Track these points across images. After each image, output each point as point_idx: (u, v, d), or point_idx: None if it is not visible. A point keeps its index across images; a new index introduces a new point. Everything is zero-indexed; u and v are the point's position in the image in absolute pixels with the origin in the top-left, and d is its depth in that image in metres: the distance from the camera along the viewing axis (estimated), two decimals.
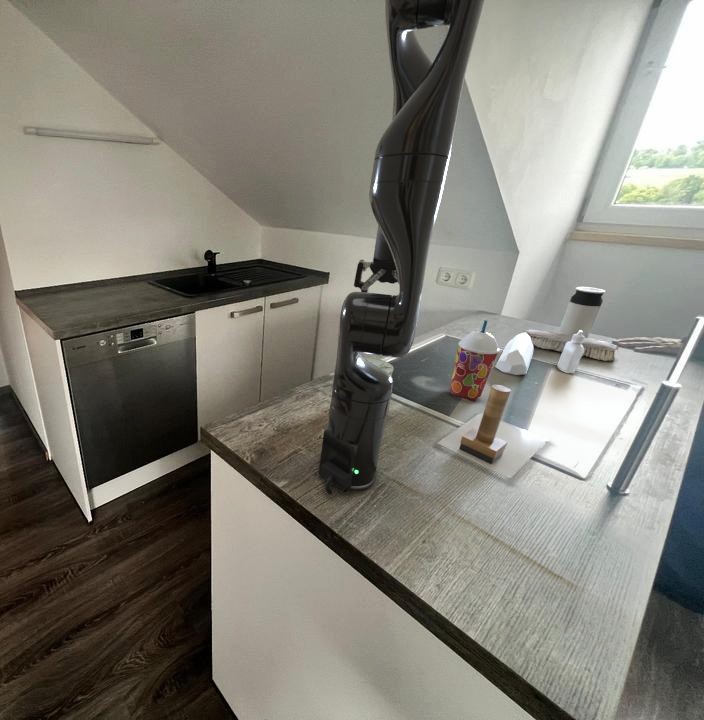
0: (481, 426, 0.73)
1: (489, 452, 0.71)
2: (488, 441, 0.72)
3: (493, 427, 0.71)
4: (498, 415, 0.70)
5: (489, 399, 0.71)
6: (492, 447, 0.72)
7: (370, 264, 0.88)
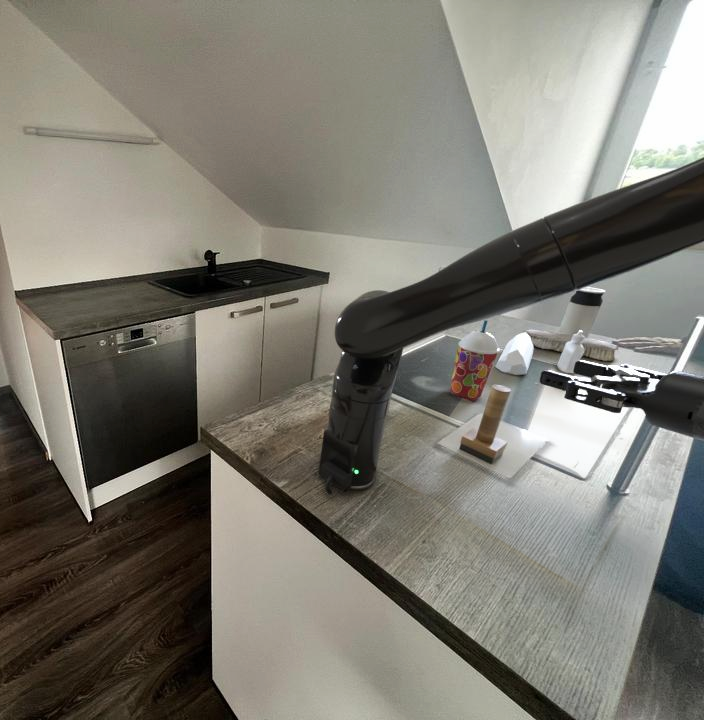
0: (481, 426, 0.73)
1: (489, 452, 0.71)
2: (488, 441, 0.72)
3: (493, 427, 0.71)
4: (498, 415, 0.70)
5: (489, 399, 0.71)
6: (492, 447, 0.72)
7: None
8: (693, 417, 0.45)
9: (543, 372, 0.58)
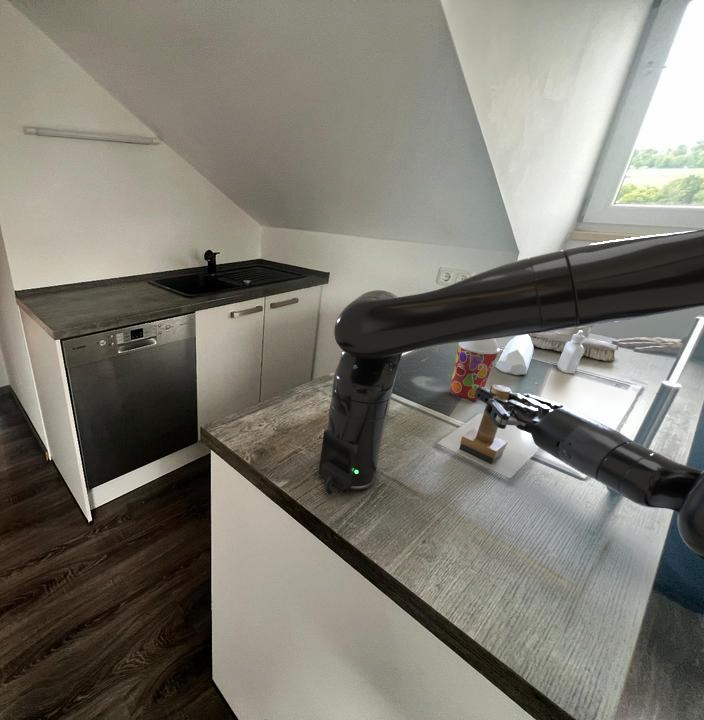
0: (481, 426, 0.73)
1: (489, 452, 0.71)
2: (488, 441, 0.72)
3: (493, 427, 0.71)
4: None
5: None
6: (492, 447, 0.72)
7: None
8: (559, 446, 0.57)
9: (478, 388, 0.72)
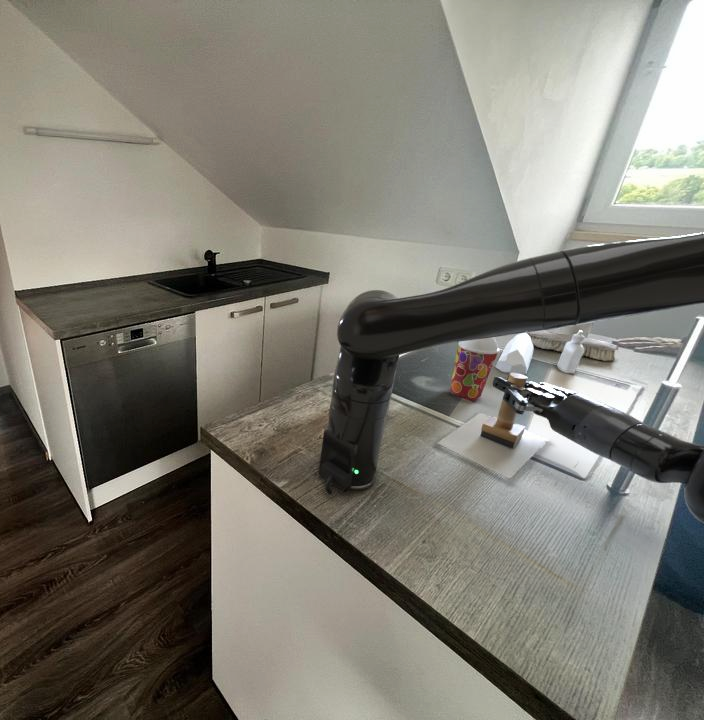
0: (500, 413, 0.77)
1: (510, 437, 0.76)
2: (508, 427, 0.77)
3: (512, 413, 0.76)
4: None
5: None
6: (512, 432, 0.76)
7: None
8: (575, 429, 0.62)
9: (495, 378, 0.77)
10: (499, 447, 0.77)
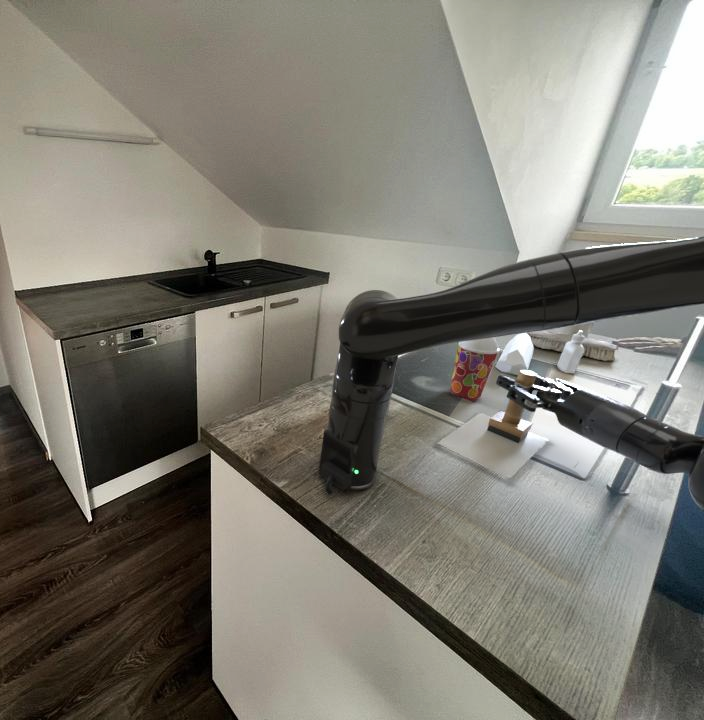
0: (508, 408, 0.79)
1: (516, 432, 0.77)
2: (515, 422, 0.79)
3: (520, 408, 0.77)
4: None
5: None
6: (519, 427, 0.78)
7: None
8: (582, 422, 0.64)
9: (499, 376, 0.78)
10: (499, 447, 0.77)
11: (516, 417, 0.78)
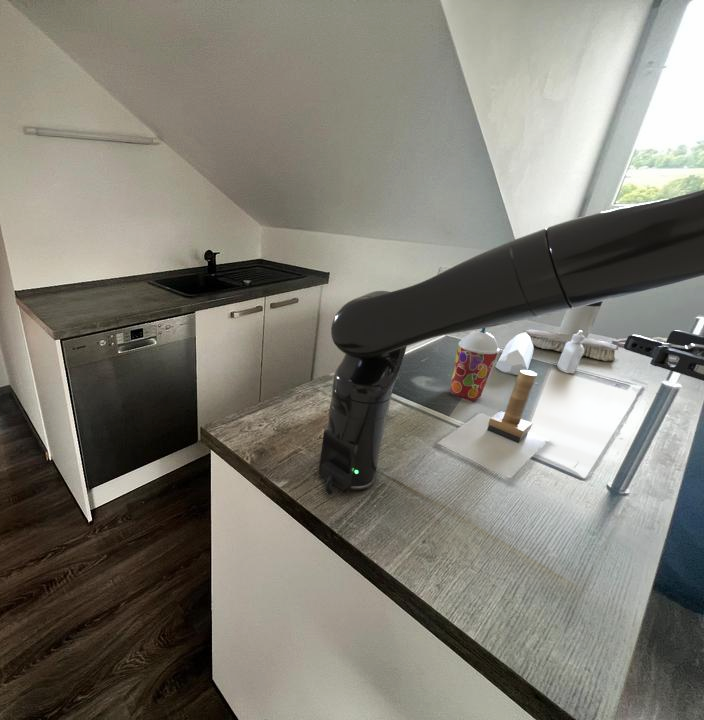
0: (508, 408, 0.79)
1: (516, 432, 0.77)
2: (515, 422, 0.79)
3: (520, 408, 0.77)
4: (525, 397, 0.76)
5: (516, 383, 0.77)
6: (519, 427, 0.78)
7: None
8: None
9: (630, 336, 0.54)
10: (499, 447, 0.77)
11: (516, 417, 0.78)
